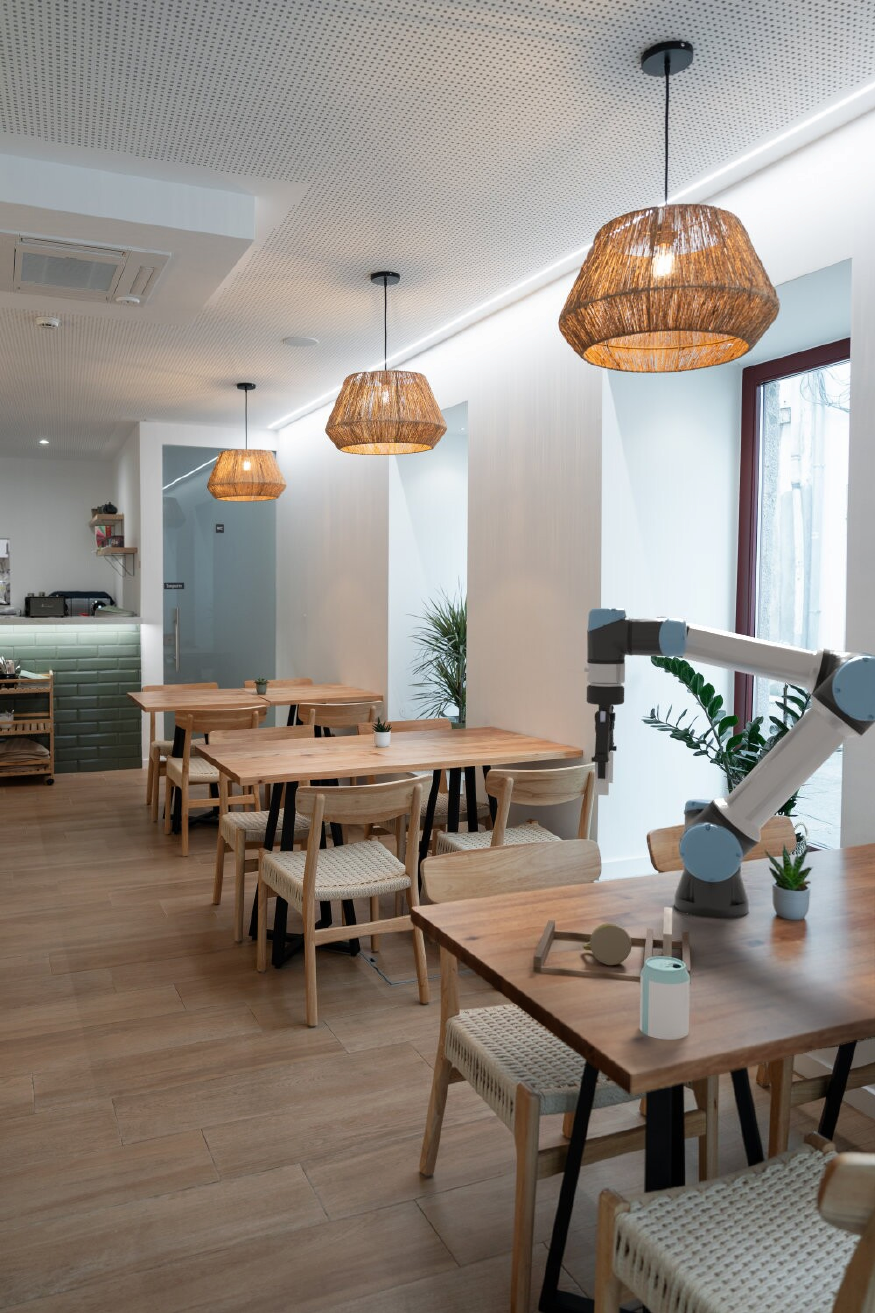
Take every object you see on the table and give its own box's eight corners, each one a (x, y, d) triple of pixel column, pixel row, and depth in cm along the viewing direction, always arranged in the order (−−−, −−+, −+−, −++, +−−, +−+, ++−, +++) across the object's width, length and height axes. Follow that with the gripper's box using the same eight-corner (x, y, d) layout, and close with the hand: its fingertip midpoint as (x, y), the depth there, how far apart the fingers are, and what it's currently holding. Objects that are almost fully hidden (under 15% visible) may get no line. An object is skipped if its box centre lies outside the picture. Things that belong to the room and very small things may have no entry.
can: (668, 1029, 150) (670, 951, 149) (698, 1048, 143) (700, 967, 143) (629, 1037, 147) (631, 958, 146) (658, 1057, 140) (659, 974, 140)
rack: (688, 951, 183) (689, 905, 182) (690, 993, 163) (691, 941, 163) (548, 939, 189) (548, 894, 188) (533, 978, 170) (534, 928, 169)
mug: (625, 945, 182) (641, 911, 176) (616, 988, 174) (632, 954, 168) (586, 930, 183) (600, 896, 177) (575, 972, 175) (590, 938, 169)
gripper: (591, 679, 213) (590, 776, 214) (581, 689, 188) (579, 799, 190) (627, 680, 211) (625, 778, 212) (621, 690, 187) (619, 801, 188)
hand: (603, 788), depth 201 cm, fingers open, 13 cm apart
